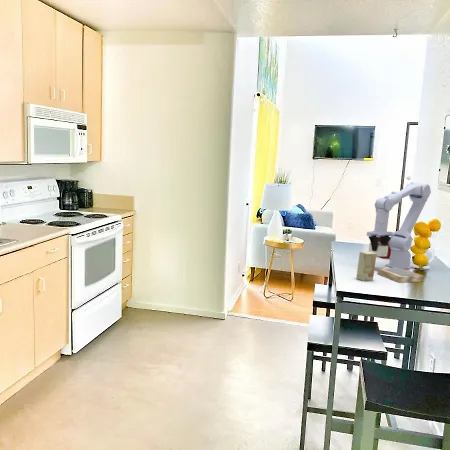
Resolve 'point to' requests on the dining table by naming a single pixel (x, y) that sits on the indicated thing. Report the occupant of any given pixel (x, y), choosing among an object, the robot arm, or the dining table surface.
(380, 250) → the housing
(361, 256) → the skincare box
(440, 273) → the dining table surface
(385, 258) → the plastic cup
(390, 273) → the stand
